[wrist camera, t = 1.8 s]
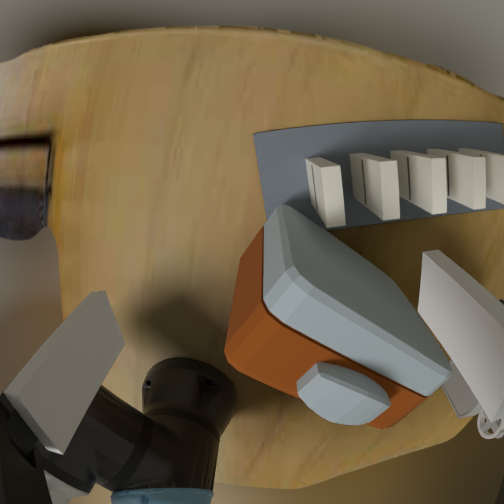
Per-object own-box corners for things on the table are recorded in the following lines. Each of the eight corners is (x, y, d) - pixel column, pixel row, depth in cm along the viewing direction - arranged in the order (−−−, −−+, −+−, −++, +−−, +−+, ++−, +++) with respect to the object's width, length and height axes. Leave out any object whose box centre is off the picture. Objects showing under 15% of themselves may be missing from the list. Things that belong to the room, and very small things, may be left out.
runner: (269, 237, 37) (269, 238, 37) (253, 133, 33) (253, 133, 33) (502, 207, 34) (504, 208, 33) (500, 123, 30) (502, 123, 29)
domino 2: (352, 197, 35) (382, 220, 25) (348, 154, 33) (378, 161, 23) (366, 195, 34) (399, 218, 25) (362, 152, 33) (396, 160, 23)
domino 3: (392, 193, 34) (431, 214, 25) (389, 150, 32) (430, 158, 23) (404, 191, 34) (446, 212, 25) (401, 150, 32) (445, 157, 23)
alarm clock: (237, 258, 38) (213, 387, 19) (280, 197, 35) (298, 289, 16) (352, 327, 41) (395, 451, 22) (395, 279, 38) (469, 392, 19)
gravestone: (473, 339, 42) (525, 410, 25) (449, 381, 45) (488, 453, 28) (462, 338, 42) (515, 412, 25) (438, 381, 45) (477, 457, 28)
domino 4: (428, 189, 34) (473, 209, 24) (425, 148, 32) (472, 157, 22) (438, 188, 33) (485, 208, 24) (437, 148, 32) (485, 157, 22)
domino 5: (459, 187, 33) (507, 205, 24) (457, 148, 31) (507, 157, 22) (468, 186, 33) (517, 204, 24) (467, 148, 31) (517, 157, 22)
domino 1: (310, 202, 35) (326, 227, 26) (304, 158, 33) (319, 167, 24) (324, 200, 35) (345, 225, 25) (319, 156, 33) (340, 165, 24)
